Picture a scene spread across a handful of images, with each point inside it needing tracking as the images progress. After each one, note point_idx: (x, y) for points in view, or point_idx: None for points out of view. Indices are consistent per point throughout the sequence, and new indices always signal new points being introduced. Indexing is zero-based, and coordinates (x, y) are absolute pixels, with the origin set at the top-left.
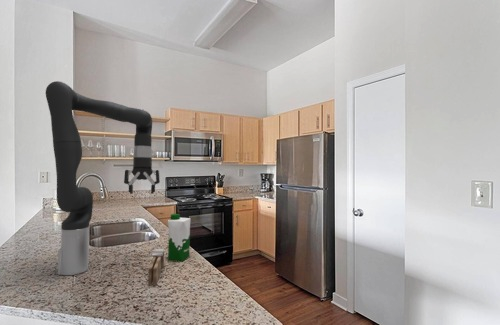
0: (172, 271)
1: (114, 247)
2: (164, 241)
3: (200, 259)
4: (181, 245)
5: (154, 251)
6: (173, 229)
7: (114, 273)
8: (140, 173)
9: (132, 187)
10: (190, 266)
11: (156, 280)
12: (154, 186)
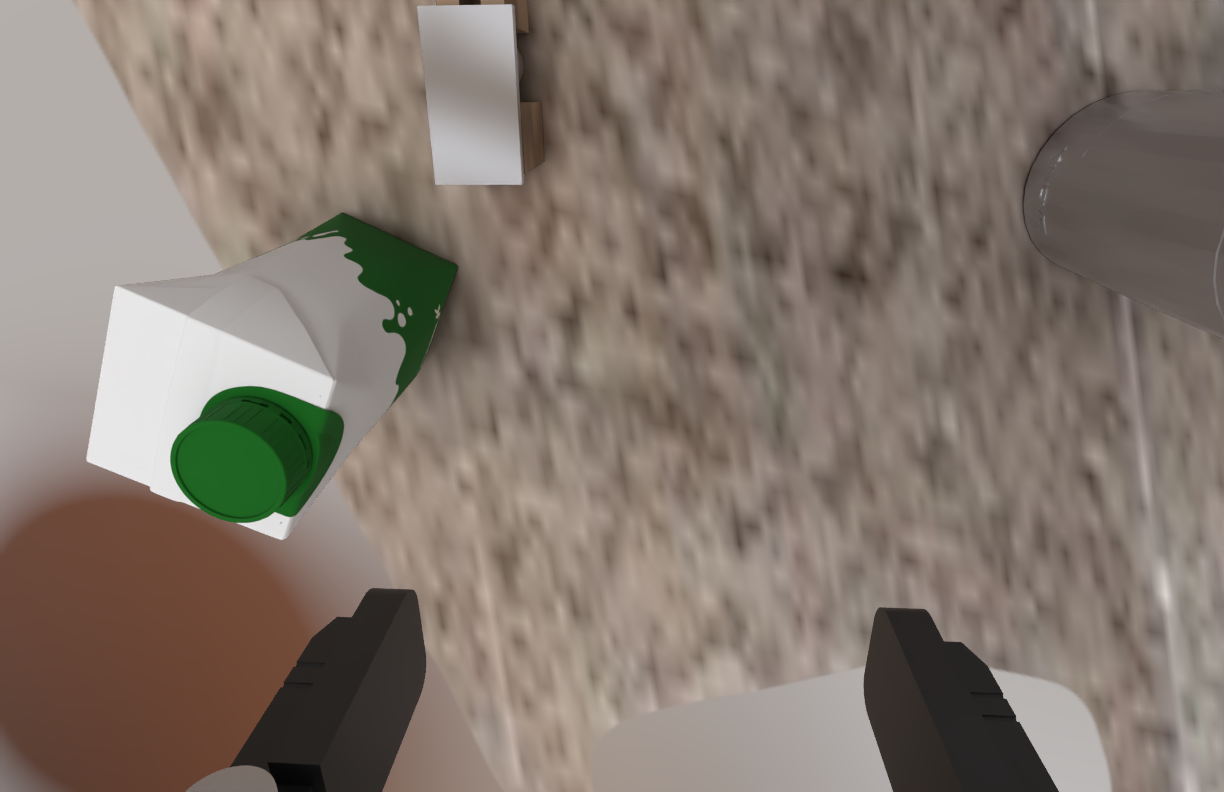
0: (381, 9)
1: None
2: (552, 684)
3: (214, 235)
4: (293, 242)
5: (507, 115)
6: (299, 299)
7: (814, 66)
8: None
9: (922, 787)
10: (262, 92)
11: None
12: (250, 745)
